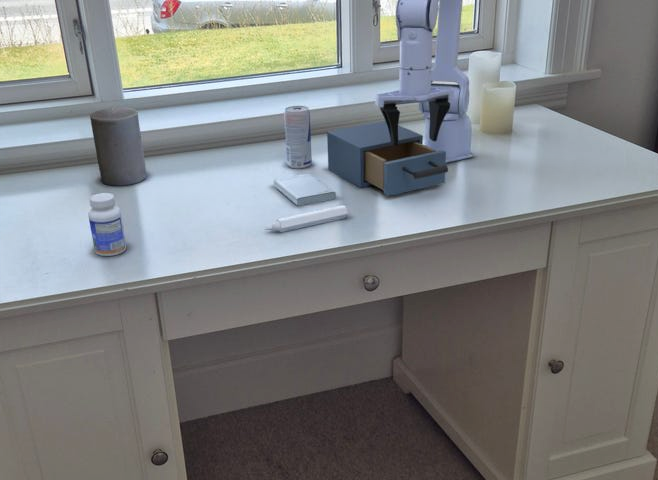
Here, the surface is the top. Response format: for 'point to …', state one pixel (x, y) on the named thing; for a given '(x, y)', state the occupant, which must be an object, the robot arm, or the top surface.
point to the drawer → (404, 167)
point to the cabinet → (361, 148)
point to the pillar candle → (118, 146)
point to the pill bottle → (106, 225)
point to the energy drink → (298, 136)
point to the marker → (309, 219)
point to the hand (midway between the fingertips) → (413, 142)
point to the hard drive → (304, 189)
